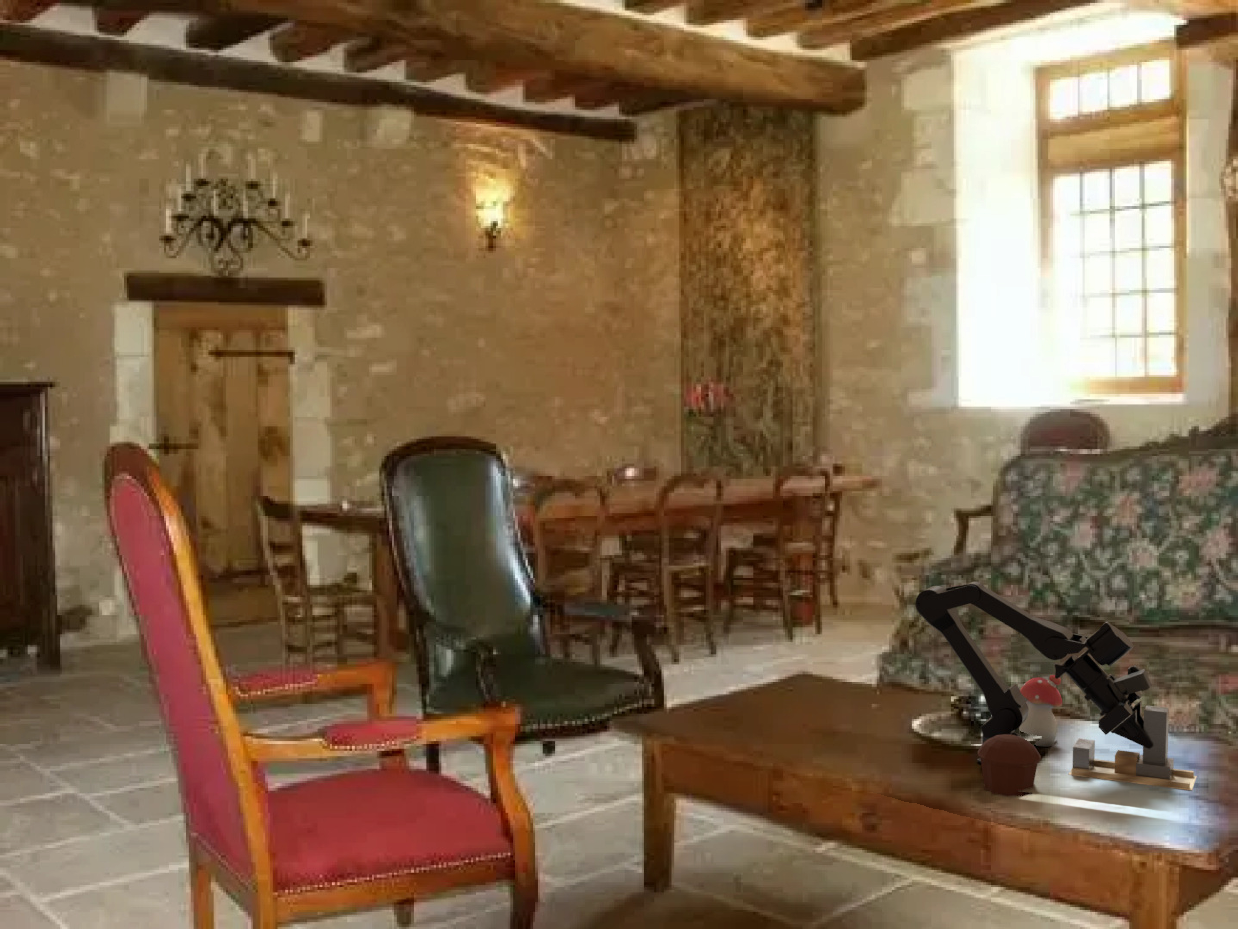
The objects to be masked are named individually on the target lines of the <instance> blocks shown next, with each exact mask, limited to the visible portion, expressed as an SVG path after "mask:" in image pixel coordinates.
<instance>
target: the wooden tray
mask: <svg viewBox="0 0 1238 929" xmlns="http://www.w3.org/2000/svg"><path fill="white" fill-rule="evenodd" d="M1068 775H1070V776H1075V777H1077V776H1078V777H1084V778H1085V777H1086V778H1092V779H1098V780H1099V779H1101V780H1108V781H1115V782H1116V781H1117V782H1124V783H1133V784H1139V785H1148V786H1155V787H1164V788H1170V789H1171V788H1172V789H1178V790H1179V789H1180V790H1184V791H1185V790H1186V791H1187V790H1188V791H1193V788H1194V785H1195V783H1196V780H1197V777H1198V776H1197V775H1195V771H1194V770H1187V769H1179V768H1174V770H1173V776H1172V779H1171V780H1167V779H1159V778H1151V777H1143V776H1135V775H1127V774H1119V773H1115V760H1114V761H1112V760H1105V759H1099V758H1098V759H1097V758H1094V767H1093V768H1092V770H1087V769H1079V768H1073V767H1071V770H1070V771H1069V773H1068Z"/></svg>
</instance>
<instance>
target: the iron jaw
mask: <svg viewBox="0 0 1238 929" xmlns="http://www.w3.org/2000/svg"><path fill="white" fill-rule="evenodd" d="M1095 742H1096V740H1095V739H1085V738H1078V739H1077V740H1076V742H1075V743H1074V744H1073V747H1072V768H1079V769H1087V770H1092V768H1093V767H1094V759H1095V753H1096V752H1095V749H1096V748H1095V746H1096V745H1095V744H1096V743H1095Z"/></svg>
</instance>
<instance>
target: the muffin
mask: <svg viewBox="0 0 1238 929" xmlns="http://www.w3.org/2000/svg"><path fill="white" fill-rule="evenodd" d="M977 755H978V757H979V759H981V763H980V764H981V772H982V778H983V786H984V790H986V791H988V792H990V793H992V794H994V795H1000V796H1003V797H1004V796H1005V797H1025V796H1028V795H1032V794H1033V792H1029V791H1026V790H1028V789H1033V788H1034V783H1035V780H1036V773H1037V767H1038V764H1039V763H1040V761H1041V759H1042V756H1041V754H1040V753H1039V751H1038V749H1037V748H1036V746H1034V745H1032V744H1031V743H1030V742H1029V741H1027V740H1025V739H1024V738H1022V737H1021V736H1019V735H1018V736H1015V735H1009V734H1003V735H996V736H994V737H992V738H990V739H988V740H986V741H985V742H984V743H983V742H982V744H981V745H980V747H979V748H978V750H977Z"/></svg>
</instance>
